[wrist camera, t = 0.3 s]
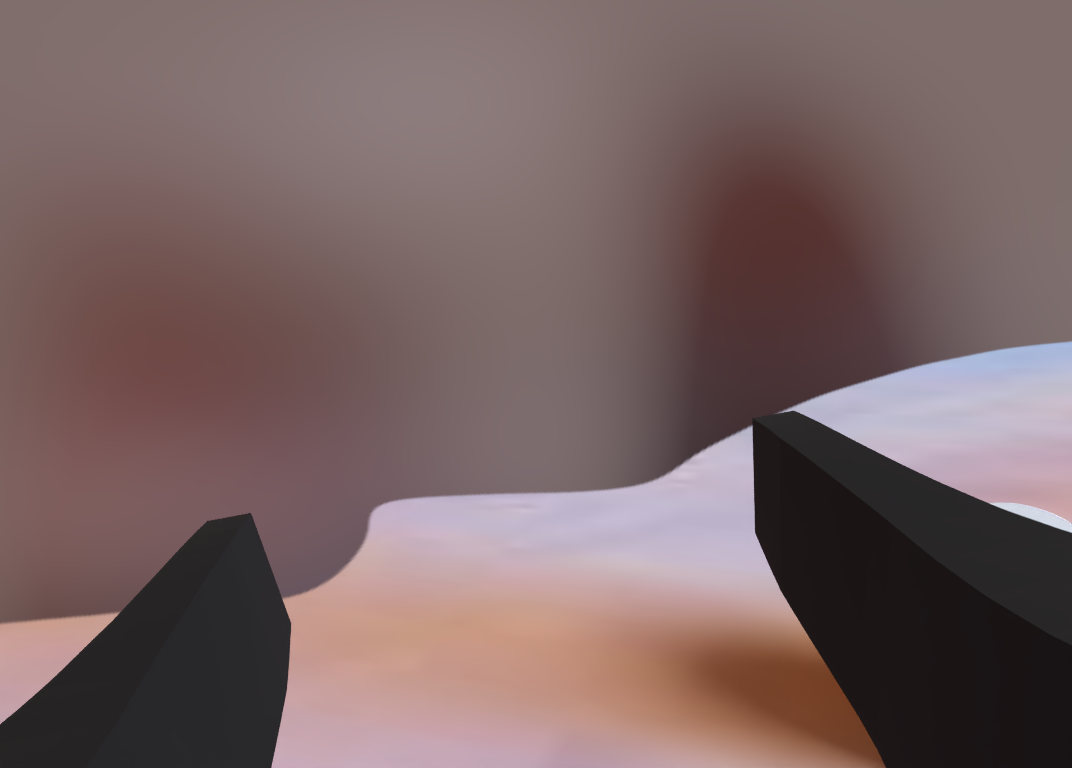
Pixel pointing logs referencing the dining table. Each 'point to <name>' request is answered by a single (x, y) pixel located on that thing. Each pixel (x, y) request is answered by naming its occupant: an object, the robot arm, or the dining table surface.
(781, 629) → the dining table surface
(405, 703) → the dining table surface
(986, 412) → the dining table surface
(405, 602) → the dining table surface
